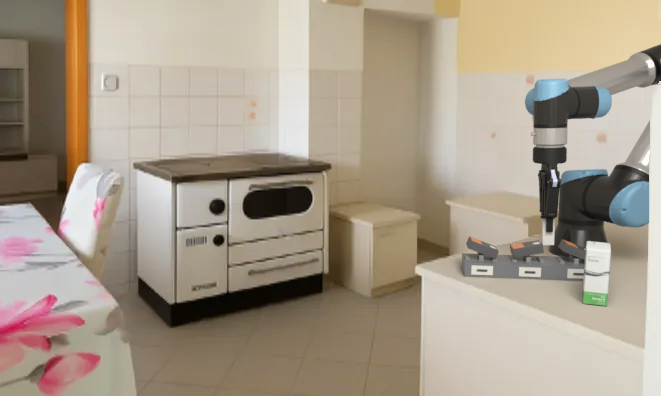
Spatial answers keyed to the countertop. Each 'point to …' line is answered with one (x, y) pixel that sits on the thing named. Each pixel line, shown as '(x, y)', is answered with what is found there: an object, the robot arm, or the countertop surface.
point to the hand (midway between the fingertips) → (547, 244)
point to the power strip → (524, 267)
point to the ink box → (596, 273)
